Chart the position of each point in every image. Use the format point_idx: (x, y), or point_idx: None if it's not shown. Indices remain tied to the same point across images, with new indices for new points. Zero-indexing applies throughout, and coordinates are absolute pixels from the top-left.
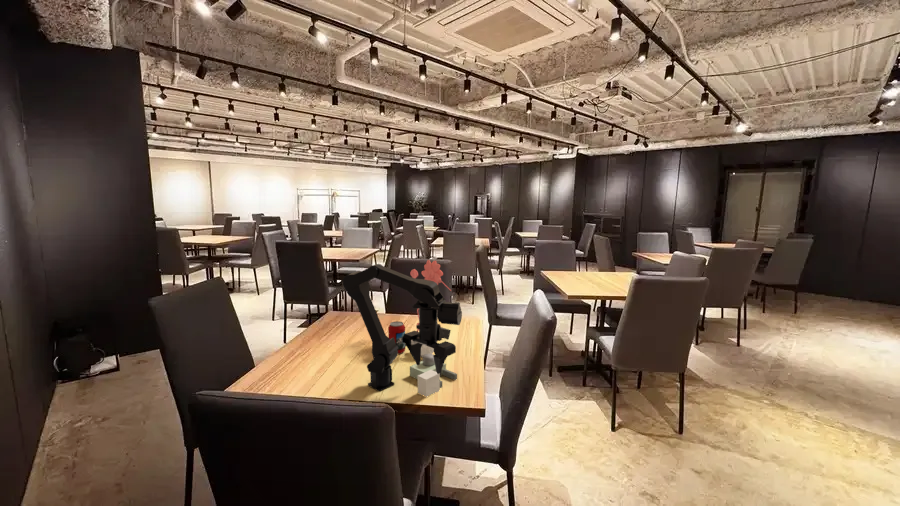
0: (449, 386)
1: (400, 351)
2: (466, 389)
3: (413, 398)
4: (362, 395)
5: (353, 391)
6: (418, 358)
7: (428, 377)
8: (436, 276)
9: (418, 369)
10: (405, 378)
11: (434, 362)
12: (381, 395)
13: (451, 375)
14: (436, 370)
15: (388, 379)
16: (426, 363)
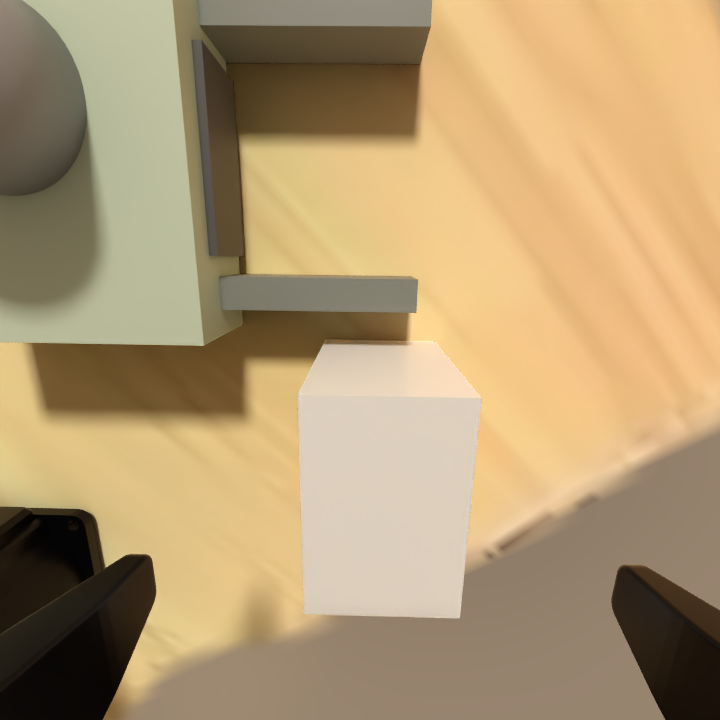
0: (456, 219)
1: None
2: (632, 148)
3: None
4: None
5: None
6: (63, 697)
7: (442, 570)
8: None
9: (62, 332)
10: (47, 381)
11: (45, 43)
12: (167, 645)
13: (365, 42)
14: (665, 698)
15: (41, 599)
16: (8, 181)
